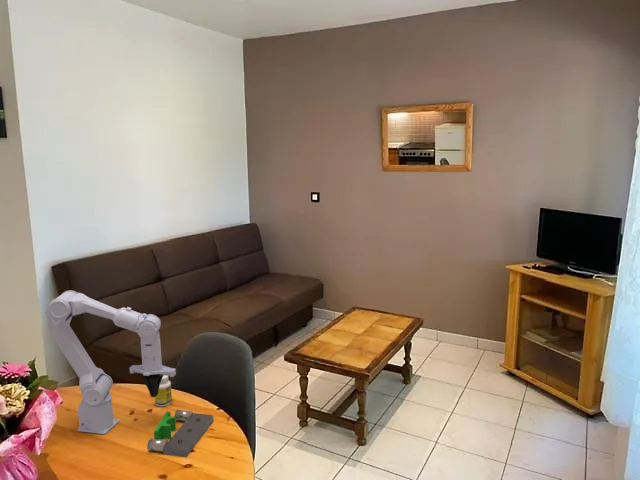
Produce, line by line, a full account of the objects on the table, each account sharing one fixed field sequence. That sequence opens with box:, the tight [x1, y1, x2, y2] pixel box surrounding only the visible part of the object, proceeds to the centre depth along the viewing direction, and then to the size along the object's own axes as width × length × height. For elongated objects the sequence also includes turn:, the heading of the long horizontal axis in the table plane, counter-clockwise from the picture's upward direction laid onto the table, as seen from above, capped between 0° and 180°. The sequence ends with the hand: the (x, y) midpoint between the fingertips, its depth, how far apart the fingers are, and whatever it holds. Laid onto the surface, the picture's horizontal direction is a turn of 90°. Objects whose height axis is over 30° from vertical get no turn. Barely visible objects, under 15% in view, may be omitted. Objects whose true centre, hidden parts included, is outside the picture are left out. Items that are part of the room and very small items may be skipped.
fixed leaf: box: [146, 409, 214, 458], centre depth 149 cm, size 12×19×3 cm, turn 169°
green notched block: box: [153, 410, 177, 440], centre depth 150 cm, size 11×4×5 cm, turn 178°
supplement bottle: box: [154, 375, 173, 407], centre depth 168 cm, size 5×5×10 cm
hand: (154, 395), depth 154 cm, fingers closed
